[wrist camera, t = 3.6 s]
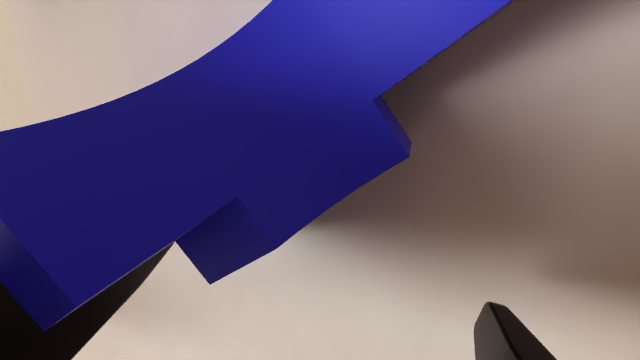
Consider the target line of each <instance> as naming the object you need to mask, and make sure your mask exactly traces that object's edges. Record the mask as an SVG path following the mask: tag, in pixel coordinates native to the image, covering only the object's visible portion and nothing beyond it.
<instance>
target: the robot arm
mask: <svg viewBox="0 0 640 360" xmlns="http://www.w3.org/2000/svg"><path fill="white" fill-rule="evenodd" d="M173 244H174V242H173V243H172V244H170V245H169V246H167V247H166V248H165V249H163V250H162V251H160V252H159V253H157V254H156V255H154V256H153V257H151V258H150V259H149V260H147V261H146V262H144V263H143V264H141V265H140V266H138V267H137V268H135V269H134V270H133V271H131V272H130V273H128V274H127V275H125V276H124V277H122V278H121V279H119V280H118V281H117V282H115V283H114V284H112V285H111V286H109V287H108V288H106V289H105V290H103V291H102V292H101V293H99V294H98V295H96V296H95V297H93V298H92V299H90V300H89V301H88V302H86V303H85V304H83V305H82V306H80V307H79V308H77V309H76V310H74V311H73V312H72V313H70V314H69V315H67V316H66V317H64V318H63V319H61V320H60V321H58V322H57V323H56V324H54V325H53V326H51V327H50V328H48V329H47V330H45V331H44V330H43V329H42V328H41V327H40V326H39V325H38V324H37V323H36V321H35V320H34V319H33V318H32V317H31V316H30V315H29V313H28V312H27V311H26V310H25V309H24V308H23V307H22V306H21V304H20V303H19V302H18V301H17V300H16V299H15V298H14V297H13V295H12V294H11V293H10V292H9V291H8V290H7V289H6V288H5V286H4V285H3V284H2V283H1V282H0V360H71V359H72V358H73V357H74V356H75V355H76V354H77V353H78V352H79V351H80V350H81V349H82V348H83V347H84V346H85V345H86V343H87V342H88V341H89V340H90V339H91V338H92V337H93V336H94V335H95V334H96V333H97V332H98V331H99V330H100V328H101V327H102V326H103V325H104V324H105V323H106V322H107V321H108V320H109V319H110V318H111V317H112V316H113V315H114V313H115V312H116V311H117V310H118V309H119V308H120V307H121V306H122V305H123V304H124V303H125V302H126V301H127V300H128V299H129V297H130V296H131V295H132V294H133V293H134V292H135V291H136V290H137V289H138V288H139V287H140V285H141V284H142V283H143V282H144V281H145V279H146V278H147V277H148V276H149V274H150V273H151V272H152V271H153V269H154V268H155V267H156V265H157V264H158V263H159V262H160V260H161V259H162V258H163V257H164V255H165V254H166V253H167V251H168V250H169V249H170V248H171V246H172V245H173ZM474 344H475V359H476V360H557V359H556V358H555V357H554V356H553V355H552V354H551V353H550V352H549V351H548V350H547V349H546V348H545V347H544V346H543V345H542V343H541V342H540V341H539V340H538V339H537V338H536V337H535V336H534V335H533V334H532V333H531V332H530V331H529V330H528V329H527V328H526V327H525V325H524V324H523V323H522V322H521V321H520V320H519V319H518V318H517V317H516V316H515V315H514V314H513V313H512V312H511V311H510V310H509V309H508V308H507V307H506V306H504V305H501V304H497V303H493V302H486V303H485V305H484V306H483V308H482V310H481V313H480V315H479V317H478V319H477V321H476V323H475V326H474Z"/></svg>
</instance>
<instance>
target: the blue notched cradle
mask: <svg viewBox="0 0 640 360" xmlns="http://www.w3.org/2000/svg"><path fill="white" fill-rule="evenodd" d="M512 1H514V0H272V1H271V2H270V3H269V4H268V5H267V6H266V7H265V8H264V9H263V10H262V11H261V12H260V13H259V14H258V15H256V16H255V17H254V18H253V19H252V20H251V21H250V22H248V23H247V24H246V25H245V26H244V27H242V28H241V29H240V30H239V31H237V32H236V33H235V34H234V35H232V36H231V37H230V38H228V39H227V40H226V41H224V42H223V43H221V44H220V45H219V46H217V47H216V48H214V49H213V50H211V51H210V52H208V53H207V54H205V55H204V56H202V57H201V58H199V59H198V60H196V61H194V62H192V63H191V64H189V65H187V66H186V67H184V68H182V69H181V70H179V71H177V72H175V73H173V74H171V75H169V76H167V77H165V78H163V79H161V80H159V81H157V82H155V83H153V84H151V85H149V86H146V87H144V88H142V89H140V90H138V91H135V92H133V93H130V94H128V95H125V96H123V97H120V98H118V99H115V100H113V101H110V102H107V103H104V104H101V105H98V106H96V107H93V108H90V109H87V110H84V111H80V112H77V113H74V114H70V115H67V116H63V117H60V118H57V119H53V120H49V121H45V122H41V123H37V124H33V125H29V126H25V127H20V128H15V129H11V130H6V131H1V132H0V282H1V283H2V284H3V285H4V286H5V288H6V289H7V290H8V291H9V292H10V293H11V294H12V295H13V297H14V298H15V299H16V300H17V301H18V302H19V303H20V304H21V306H22V307H23V308H24V309H25V310H26V311H27V312H28V313H29V315H30V316H31V317H32V318H33V319H34V320H35V321H36V323H37V324H38V325H39V326H40V327H41V328H42V329H43V330H44V331H45V330H47V329H48V328H50V327H51V326H53V325H54V324H56V323H57V322H58V321H60V320H61V319H63V318H64V317H66V316H67V315H69V314H70V313H72V312H73V311H74V310H76V309H77V308H79V307H80V306H82V305H83V304H85V303H86V302H88V301H89V300H90V299H92V298H93V297H95V296H96V295H98V294H99V293H101V292H102V291H103V290H105V289H106V288H108V287H109V286H111V285H112V284H114V283H115V282H117V281H118V280H119V279H121V278H122V277H124V276H125V275H127V274H128V273H130V272H131V271H133V270H134V269H135V268H137V267H138V266H140V265H141V264H143V263H144V262H146V261H147V260H149V259H150V258H151V257H153V256H154V255H156V254H157V253H159V252H160V251H162V250H163V249H165V248H166V247H167V246H169V245H170V244H172V243H173V242H175V241H176V243H177V244H178V245H179V246H180V248H181V249H182V250H183V252H184V253H185V254H186V255H187V257H188V258H189V259H190V260H191V262H192V263H193V264H194V265H195V267H196V268H197V269H198V270H199V272H200V273H201V274H202V275H203V277H204V278H205V279H206V281H207V282H208V283H209V284H212V283H214V282H216V281H218V280H219V279H221V278H223V277H225V276H227V275H229V274H231V273H232V272H234V271H236V270H238V269H240V268H242V267H244V266H245V265H247V264H249V263H251V262H253V261H255V260H257V259H258V258H260V257H262V256H264V255H266V254H268V253H269V252H271V251H273V250H275V249H277V248H278V247H279V246H280V245H282V244H283V243H284V242H285V241H287V240H288V239H289V238H290V237H292V236H293V235H294V234H296V233H297V232H298V231H299V230H301V229H302V228H303V227H305V226H306V225H307V224H309V223H310V222H311V221H312V220H314V219H315V218H316V217H318V216H319V215H321V214H322V213H323V212H325V211H326V210H327V209H329V208H330V207H332V206H333V205H334V204H336V203H337V202H339V201H340V200H342V199H343V198H345V197H346V196H347V195H349V194H350V193H352V192H353V191H355V190H356V189H358V188H359V187H361V186H362V185H364V184H366V183H367V182H369V181H370V180H372V179H373V178H375V177H377V176H378V175H380V174H381V173H383V172H385V171H386V170H388V169H390V168H391V167H393V166H395V165H396V164H398V163H399V162H401V161H403V160H405V159H406V158H408V157H409V155H410V149H411V141H410V139H409V138H408V136H407V135H406V133H405V132H404V130H403V128H402V127H401V125H400V124H399V122H398V121H397V119H396V118H395V116H394V115H393V113H392V112H391V110H390V109H389V107H388V106H387V104H386V103H385V101H384V100H383V98H382V96H381V95H382V94H384V93H385V92H387V91H388V90H389V89H391V88H392V87H394V86H395V85H396V84H398V83H399V82H401V81H402V80H403V79H405V78H406V77H408V76H409V75H410V74H412V73H413V72H415V71H416V70H417V69H419V68H420V67H421V66H423V65H424V64H426V63H427V62H428V61H430V60H431V59H433V58H434V57H435V56H437V55H438V54H440V53H441V52H442V51H444V50H445V49H447V48H448V47H449V46H451V45H452V44H454V43H455V42H456V41H458V40H459V39H461V38H462V37H463V36H465V35H466V34H468V33H469V32H470V31H472V30H473V29H475V28H476V27H477V26H479V25H480V24H482V23H483V22H484V21H486V20H487V19H489V18H490V17H491V16H493V15H494V14H495V13H497V12H498V11H500V10H501V9H502V8H504V7H505V6H507V5H508V4H509V3H511V2H512Z"/></svg>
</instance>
